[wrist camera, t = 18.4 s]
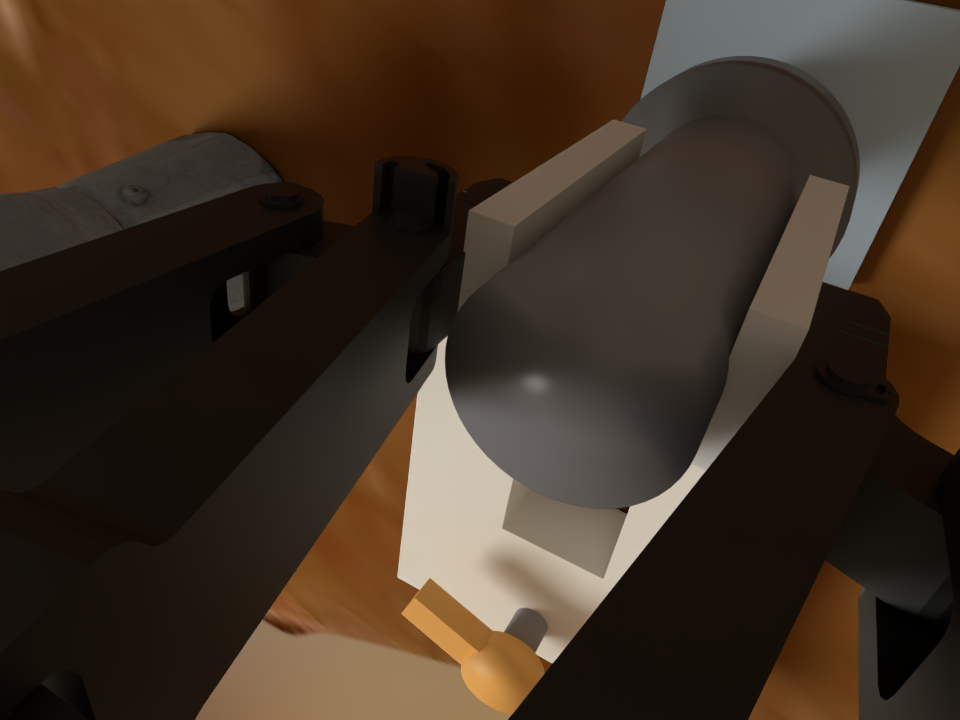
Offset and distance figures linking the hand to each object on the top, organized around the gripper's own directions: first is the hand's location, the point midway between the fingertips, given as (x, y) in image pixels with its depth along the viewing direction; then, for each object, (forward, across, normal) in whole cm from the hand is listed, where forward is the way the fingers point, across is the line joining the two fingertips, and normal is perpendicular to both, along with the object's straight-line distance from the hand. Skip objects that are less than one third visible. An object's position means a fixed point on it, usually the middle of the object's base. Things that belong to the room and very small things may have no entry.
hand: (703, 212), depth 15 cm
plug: (+7, 0, 0) cm, 7 cm away
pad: (+9, 0, 0) cm, 9 cm away
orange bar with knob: (+3, -1, -22) cm, 23 cm away
